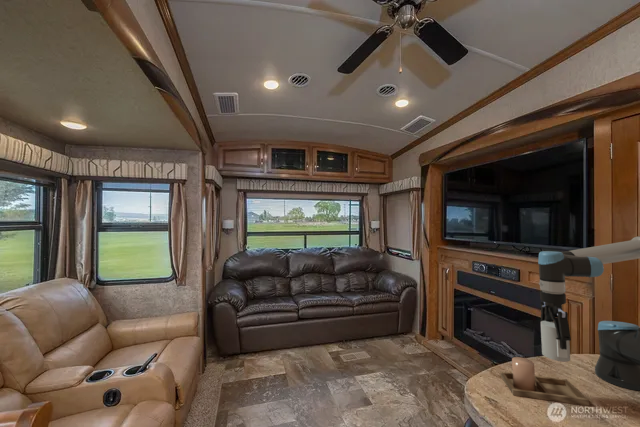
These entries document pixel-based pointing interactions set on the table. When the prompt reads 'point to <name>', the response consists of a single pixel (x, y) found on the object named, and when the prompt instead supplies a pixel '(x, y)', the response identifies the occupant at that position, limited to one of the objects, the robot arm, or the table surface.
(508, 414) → the table surface
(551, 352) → the grey cylinder
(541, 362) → the table surface
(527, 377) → the tan rounded cylinder
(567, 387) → the caddy
